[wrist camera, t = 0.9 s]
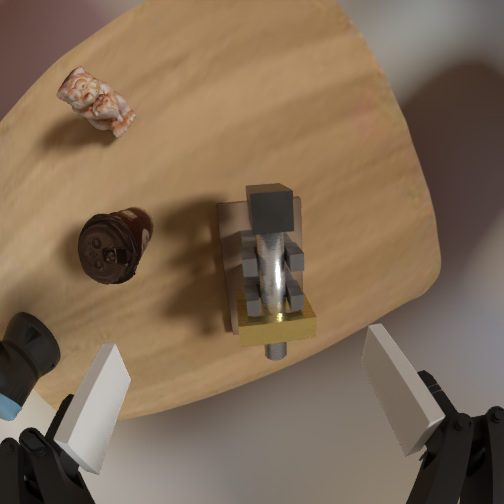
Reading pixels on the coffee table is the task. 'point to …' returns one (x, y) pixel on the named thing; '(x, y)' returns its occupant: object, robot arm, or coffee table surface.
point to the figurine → (96, 102)
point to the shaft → (271, 248)
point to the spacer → (274, 324)
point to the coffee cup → (114, 244)
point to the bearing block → (256, 259)
